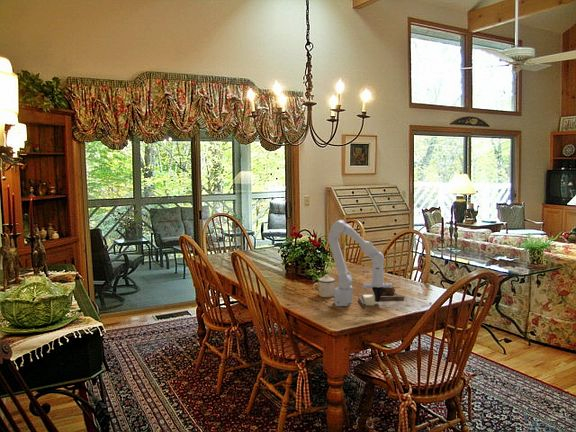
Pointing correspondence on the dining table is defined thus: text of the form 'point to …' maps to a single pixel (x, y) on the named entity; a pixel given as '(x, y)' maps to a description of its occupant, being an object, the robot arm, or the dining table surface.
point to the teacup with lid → (325, 286)
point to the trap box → (386, 301)
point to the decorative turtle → (388, 291)
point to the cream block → (369, 299)
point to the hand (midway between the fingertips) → (377, 301)
